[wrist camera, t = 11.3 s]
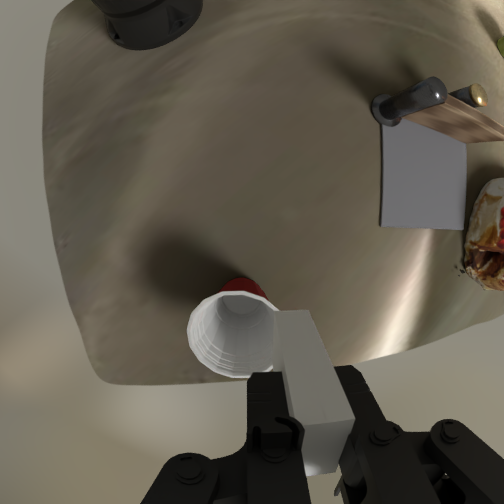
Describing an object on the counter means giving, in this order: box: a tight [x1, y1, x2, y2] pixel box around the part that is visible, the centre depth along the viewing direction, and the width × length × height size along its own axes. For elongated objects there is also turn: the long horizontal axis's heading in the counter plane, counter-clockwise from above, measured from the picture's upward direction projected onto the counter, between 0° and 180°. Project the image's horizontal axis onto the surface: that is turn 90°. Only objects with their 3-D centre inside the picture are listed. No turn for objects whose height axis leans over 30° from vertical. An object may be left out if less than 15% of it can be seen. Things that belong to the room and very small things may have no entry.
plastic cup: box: [187, 278, 280, 378], centre depth 34 cm, size 11×11×12 cm
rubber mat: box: [380, 118, 467, 230], centre depth 36 cm, size 17×17×1 cm
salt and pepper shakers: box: [371, 77, 488, 127], centre depth 27 cm, size 7×14×13 cm, turn 90°
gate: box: [400, 95, 504, 143], centre depth 28 cm, size 14×1×11 cm, turn 83°
